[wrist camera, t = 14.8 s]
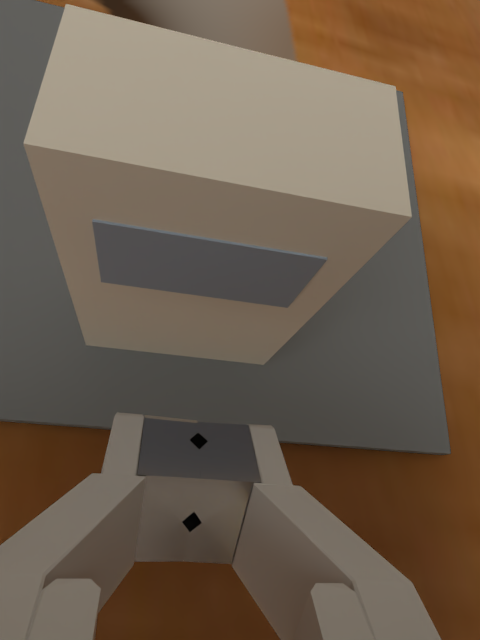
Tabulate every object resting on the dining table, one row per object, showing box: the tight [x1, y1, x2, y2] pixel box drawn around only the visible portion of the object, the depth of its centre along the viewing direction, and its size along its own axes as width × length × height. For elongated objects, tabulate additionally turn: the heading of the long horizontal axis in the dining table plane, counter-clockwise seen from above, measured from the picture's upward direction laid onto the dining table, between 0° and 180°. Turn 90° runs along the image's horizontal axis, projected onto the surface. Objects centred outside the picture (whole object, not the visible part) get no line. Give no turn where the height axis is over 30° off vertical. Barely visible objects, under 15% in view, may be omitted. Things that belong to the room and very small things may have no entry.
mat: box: [0, 0, 451, 455], centre depth 17 cm, size 20×18×1 cm
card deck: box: [23, 4, 412, 365], centre depth 11 cm, size 6×3×9 cm, turn 87°
